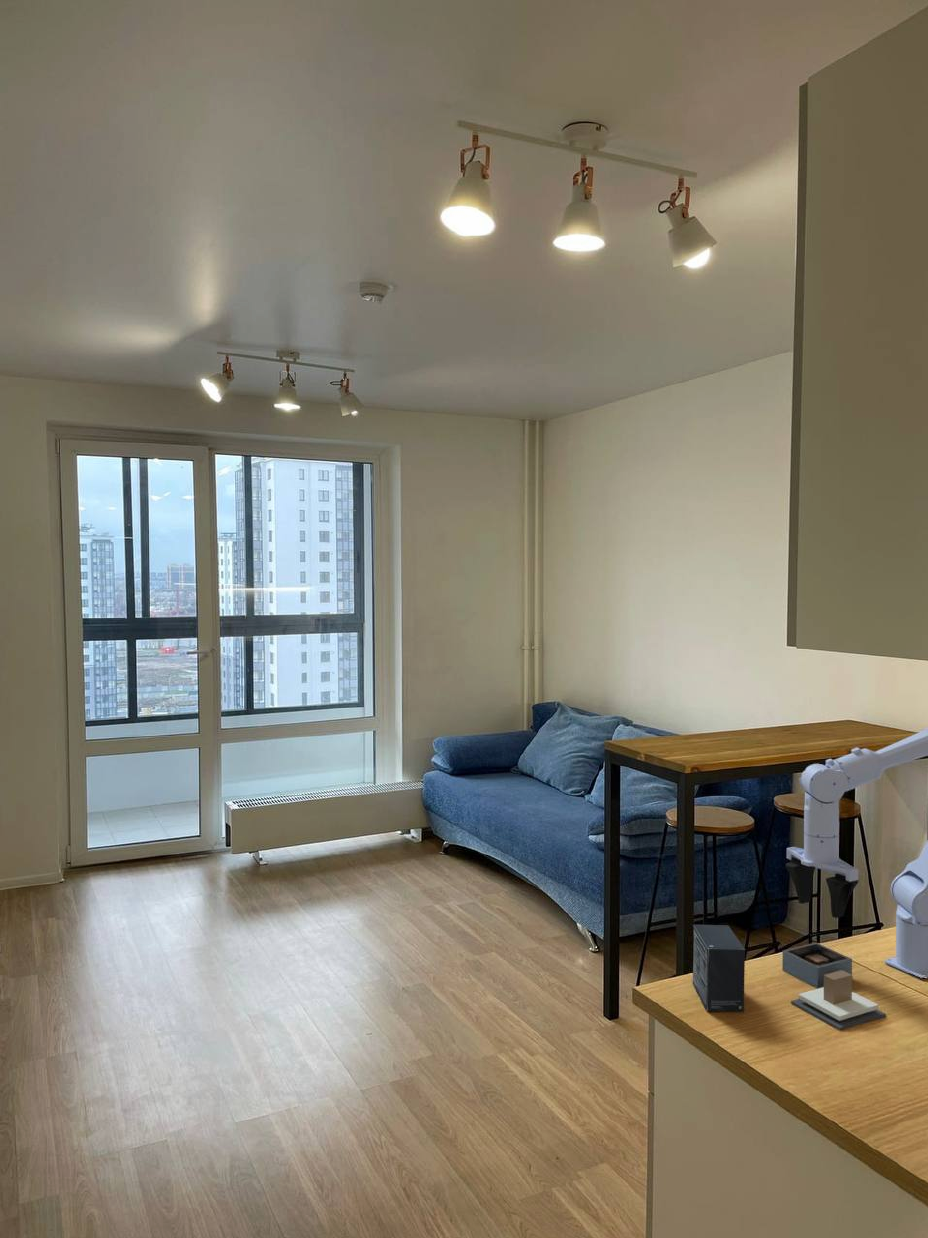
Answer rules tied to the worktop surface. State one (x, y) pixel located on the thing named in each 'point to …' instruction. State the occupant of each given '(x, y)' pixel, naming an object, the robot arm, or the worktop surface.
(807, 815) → the robot arm
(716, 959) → the small box
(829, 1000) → the lid
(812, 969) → the tin
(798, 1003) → the mat
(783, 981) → the worktop surface
